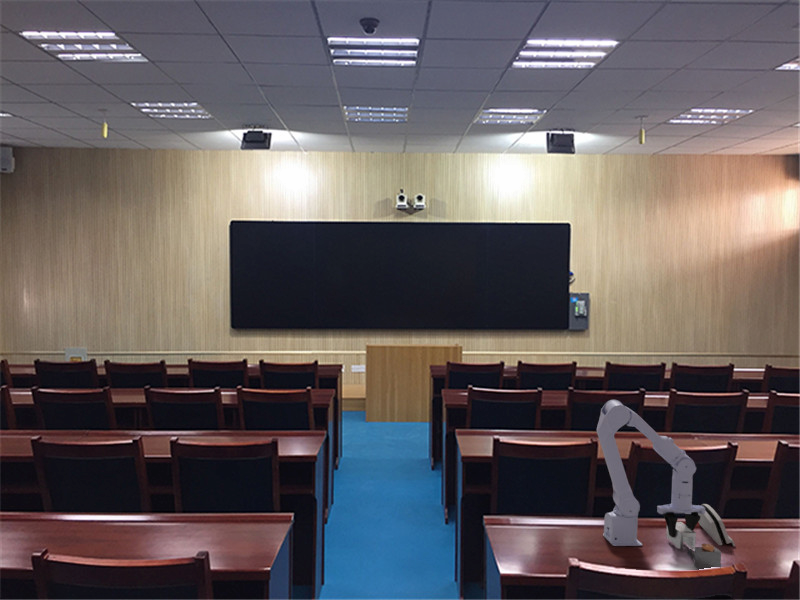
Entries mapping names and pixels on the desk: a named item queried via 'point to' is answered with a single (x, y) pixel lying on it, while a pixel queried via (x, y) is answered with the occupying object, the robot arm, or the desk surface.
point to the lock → (682, 536)
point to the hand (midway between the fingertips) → (680, 536)
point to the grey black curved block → (714, 526)
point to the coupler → (706, 556)
